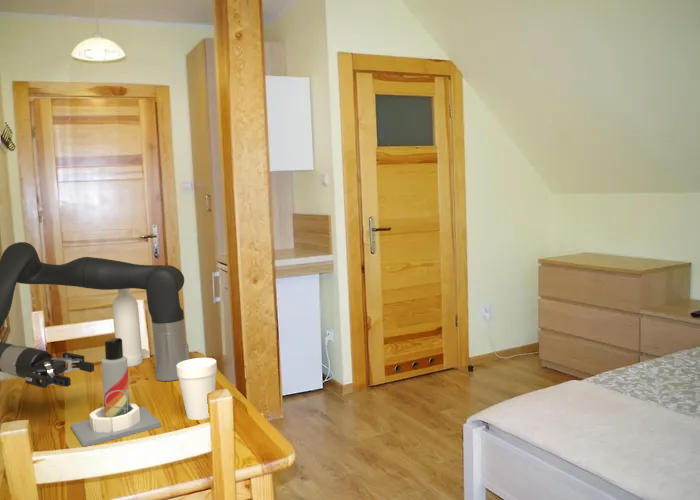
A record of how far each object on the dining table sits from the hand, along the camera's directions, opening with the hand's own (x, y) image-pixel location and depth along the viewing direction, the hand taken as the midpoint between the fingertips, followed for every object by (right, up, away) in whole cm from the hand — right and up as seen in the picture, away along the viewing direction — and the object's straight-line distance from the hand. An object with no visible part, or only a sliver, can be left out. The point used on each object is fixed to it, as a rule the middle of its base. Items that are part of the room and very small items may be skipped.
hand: (81, 375), depth 146 cm
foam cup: (+29, -10, +1) cm, 30 cm away
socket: (+10, -11, -4) cm, 16 cm away
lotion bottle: (+10, -10, -3) cm, 15 cm away
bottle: (-6, -7, +50) cm, 51 cm away
